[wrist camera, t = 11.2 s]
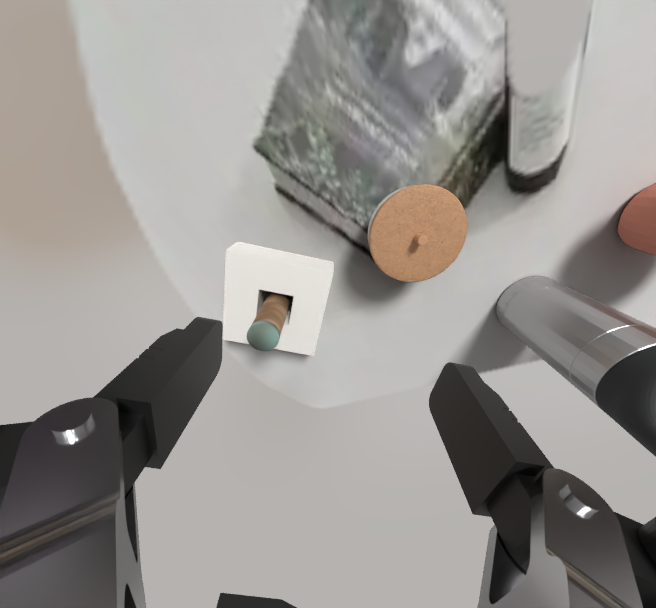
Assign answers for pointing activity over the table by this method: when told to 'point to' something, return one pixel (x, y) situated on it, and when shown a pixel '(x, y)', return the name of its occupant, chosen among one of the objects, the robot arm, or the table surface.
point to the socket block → (280, 277)
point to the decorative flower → (640, 221)
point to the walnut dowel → (269, 322)
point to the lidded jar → (417, 232)
